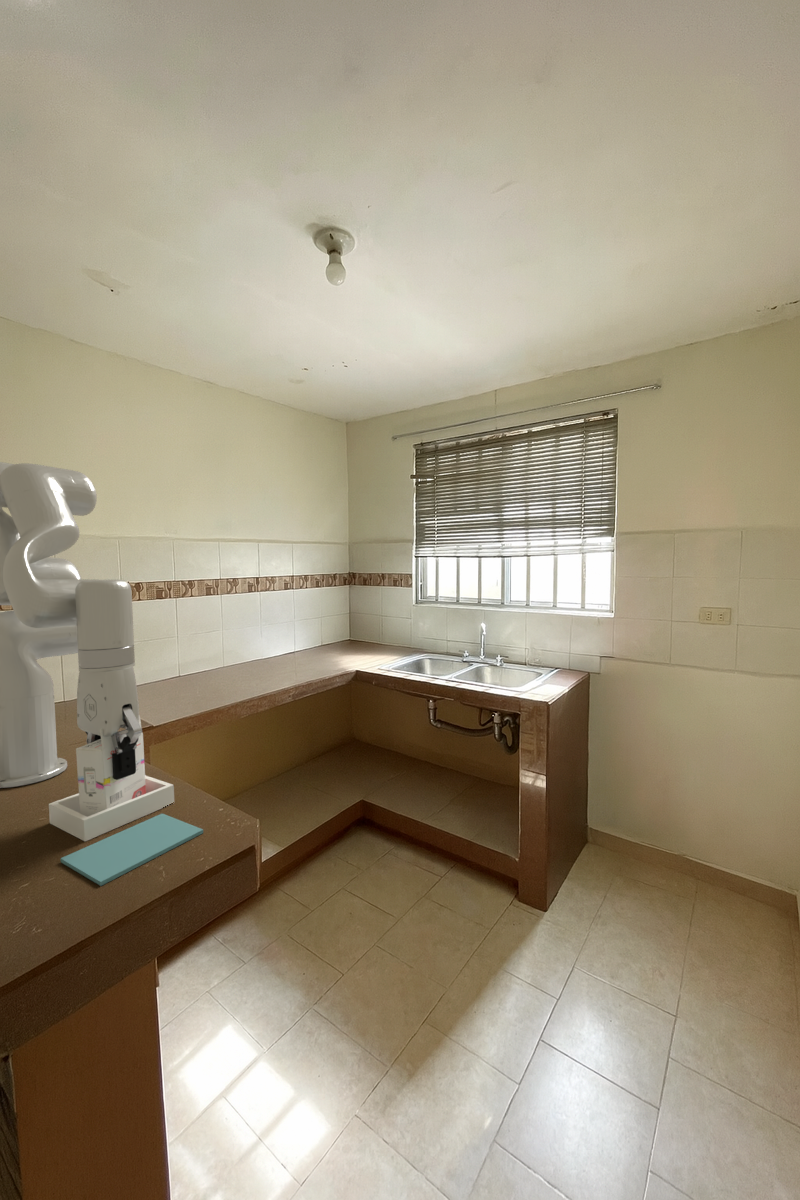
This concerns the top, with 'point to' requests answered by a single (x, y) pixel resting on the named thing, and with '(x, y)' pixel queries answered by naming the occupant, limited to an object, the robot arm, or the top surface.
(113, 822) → the white rectangular frame
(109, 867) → the mat
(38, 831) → the top surface
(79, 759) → the ink cartridge box
